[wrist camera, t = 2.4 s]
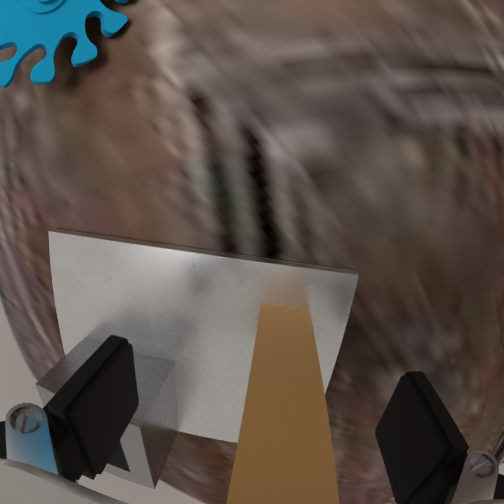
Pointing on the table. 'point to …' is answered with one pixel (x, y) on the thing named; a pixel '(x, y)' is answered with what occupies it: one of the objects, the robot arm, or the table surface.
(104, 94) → the table surface
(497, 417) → the table surface
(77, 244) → the grey square socket base
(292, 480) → the tan square peg
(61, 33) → the blue spiky virus toy
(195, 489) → the table surface
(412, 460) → the robot arm
